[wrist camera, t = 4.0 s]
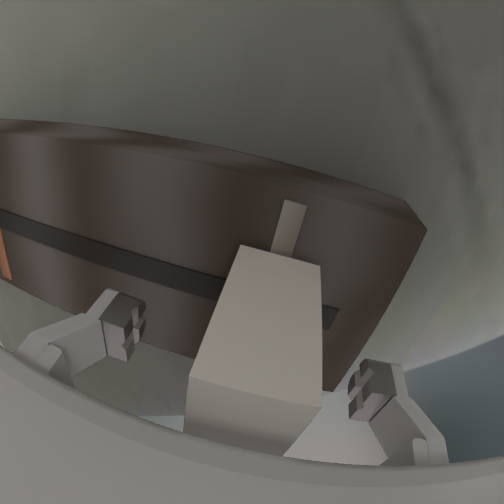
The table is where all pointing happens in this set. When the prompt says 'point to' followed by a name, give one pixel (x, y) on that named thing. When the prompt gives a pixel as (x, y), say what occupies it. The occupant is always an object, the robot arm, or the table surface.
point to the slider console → (190, 230)
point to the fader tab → (259, 356)
